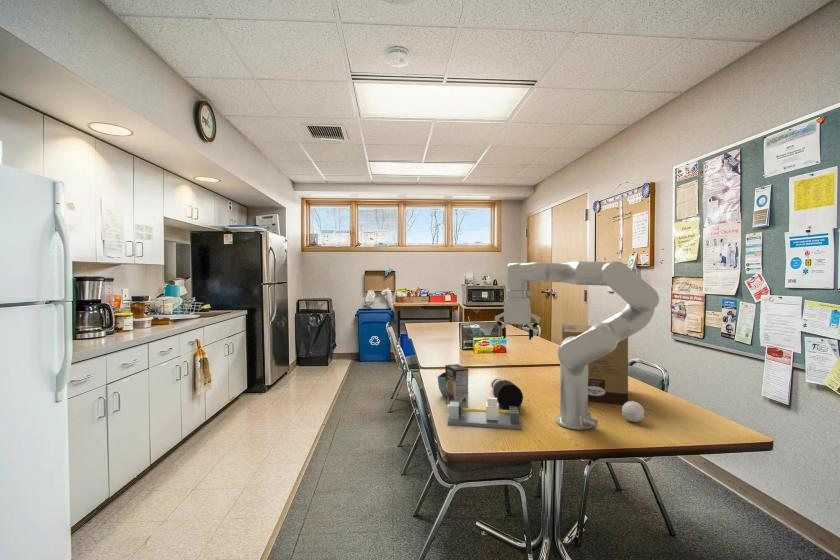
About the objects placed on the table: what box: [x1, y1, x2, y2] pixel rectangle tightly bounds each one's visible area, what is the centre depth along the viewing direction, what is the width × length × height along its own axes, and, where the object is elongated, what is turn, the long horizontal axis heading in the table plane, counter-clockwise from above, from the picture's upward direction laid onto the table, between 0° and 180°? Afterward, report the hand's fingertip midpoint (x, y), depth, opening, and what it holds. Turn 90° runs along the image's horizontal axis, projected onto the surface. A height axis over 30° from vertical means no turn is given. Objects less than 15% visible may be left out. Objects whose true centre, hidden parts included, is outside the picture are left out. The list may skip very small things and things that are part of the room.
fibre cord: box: [461, 407, 510, 415], centre depth 137 cm, size 22×1×1 cm, turn 80°
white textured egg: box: [621, 400, 650, 423], centre depth 135 cm, size 10×7×7 cm
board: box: [447, 406, 522, 430], centre depth 137 cm, size 26×10×5 cm, turn 80°
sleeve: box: [485, 397, 500, 420], centre depth 136 cm, size 4×5×7 cm
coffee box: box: [444, 363, 469, 408], centre depth 155 cm, size 9×6×16 cm
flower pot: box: [437, 371, 446, 397], centre depth 168 cm, size 9×9×9 cm
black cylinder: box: [490, 377, 524, 410], centre depth 164 cm, size 10×34×10 cm, turn 176°
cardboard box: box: [561, 323, 629, 406], centre depth 169 cm, size 26×26×30 cm
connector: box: [446, 401, 463, 419], centre depth 139 cm, size 5×5×5 cm
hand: (517, 338), depth 143 cm, fingers open, 9 cm apart
